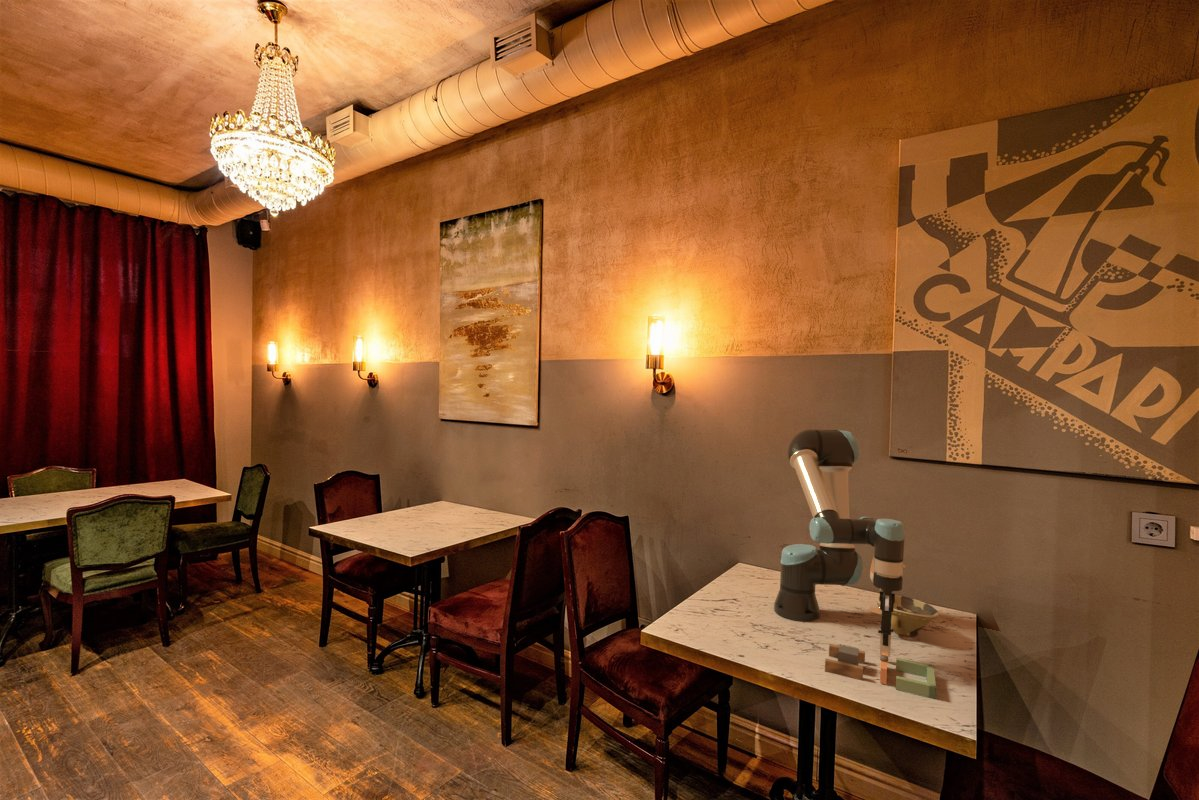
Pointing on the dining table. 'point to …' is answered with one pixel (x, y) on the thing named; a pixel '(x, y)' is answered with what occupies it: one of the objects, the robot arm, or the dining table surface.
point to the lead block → (848, 655)
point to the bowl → (910, 615)
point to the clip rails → (844, 664)
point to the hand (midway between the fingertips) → (884, 654)
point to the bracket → (914, 685)
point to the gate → (883, 667)
